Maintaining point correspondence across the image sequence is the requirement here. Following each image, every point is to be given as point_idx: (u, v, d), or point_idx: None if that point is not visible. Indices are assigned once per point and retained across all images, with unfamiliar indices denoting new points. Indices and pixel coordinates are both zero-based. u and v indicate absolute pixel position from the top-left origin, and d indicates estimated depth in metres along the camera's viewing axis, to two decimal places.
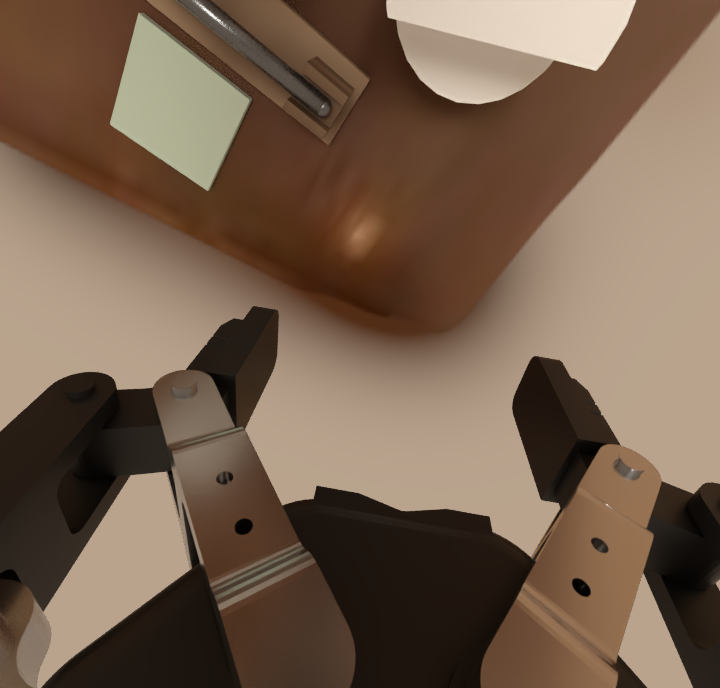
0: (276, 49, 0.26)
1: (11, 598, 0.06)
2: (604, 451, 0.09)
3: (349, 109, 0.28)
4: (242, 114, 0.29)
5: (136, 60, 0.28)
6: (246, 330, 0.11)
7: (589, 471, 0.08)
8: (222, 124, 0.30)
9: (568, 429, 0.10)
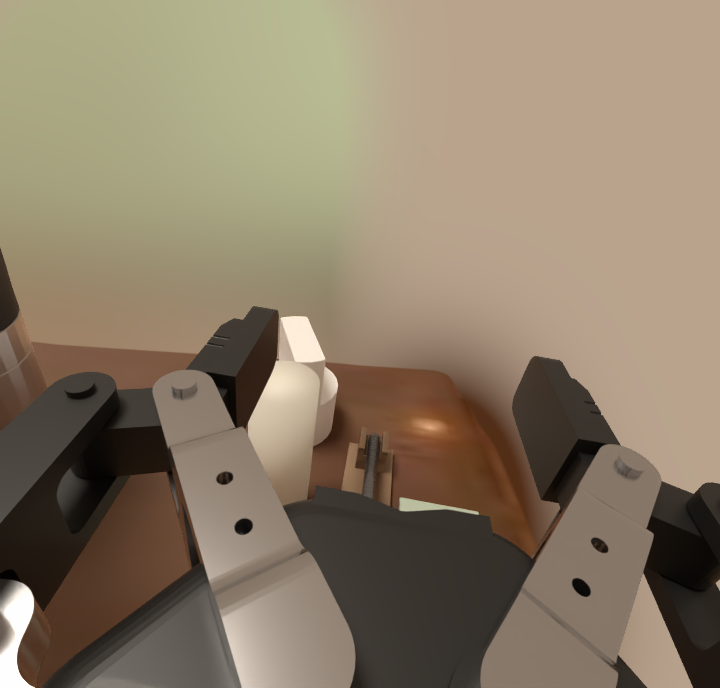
0: None
1: (11, 598, 0.06)
2: (605, 451, 0.09)
3: None
4: None
5: None
6: (246, 330, 0.11)
7: (589, 471, 0.08)
8: None
9: (567, 429, 0.10)
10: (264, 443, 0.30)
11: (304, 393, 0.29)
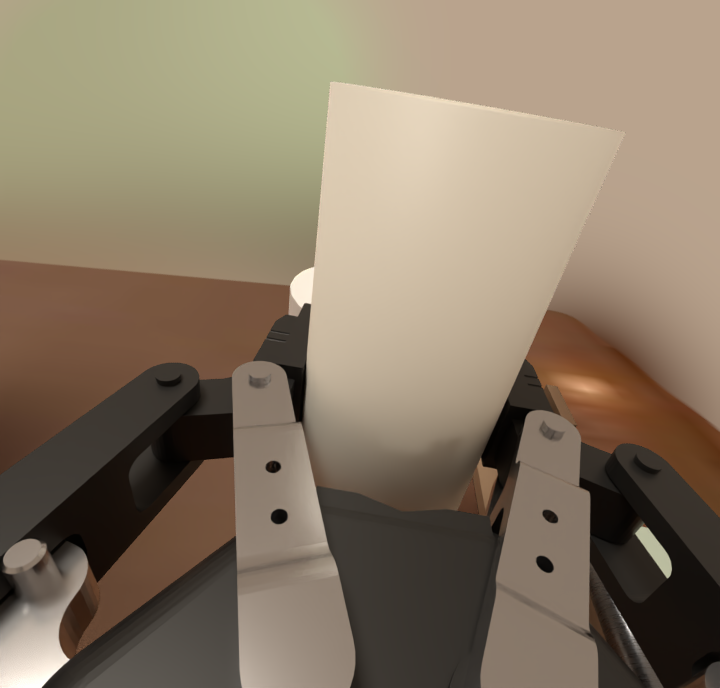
0: None
1: (71, 562, 0.06)
2: (530, 418, 0.09)
3: None
4: None
5: None
6: (303, 325, 0.12)
7: (522, 441, 0.09)
8: None
9: None
10: (391, 356, 0.08)
11: (583, 125, 0.07)
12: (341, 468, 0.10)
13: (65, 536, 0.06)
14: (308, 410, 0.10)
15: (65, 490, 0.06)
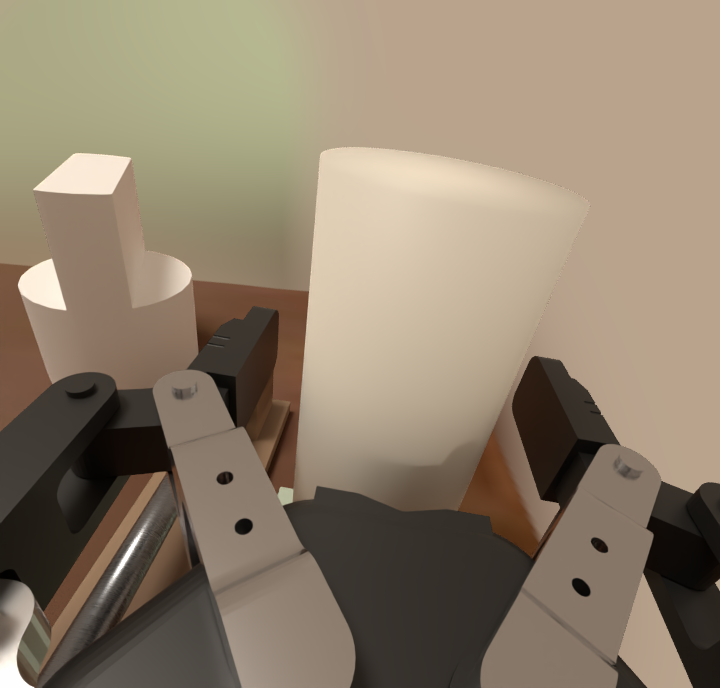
0: None
1: (11, 598, 0.06)
2: (604, 450, 0.09)
3: None
4: None
5: None
6: (246, 330, 0.11)
7: (589, 471, 0.08)
8: None
9: (567, 429, 0.10)
10: (377, 406, 0.08)
11: (551, 198, 0.07)
12: None
13: None
14: (302, 445, 0.11)
15: None
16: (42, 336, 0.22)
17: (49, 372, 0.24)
